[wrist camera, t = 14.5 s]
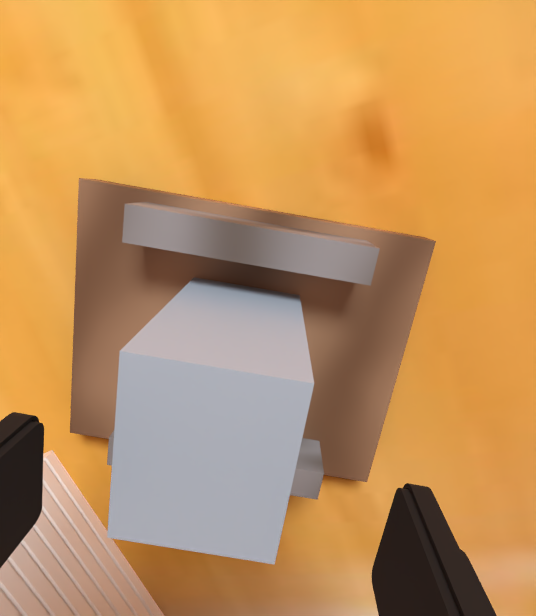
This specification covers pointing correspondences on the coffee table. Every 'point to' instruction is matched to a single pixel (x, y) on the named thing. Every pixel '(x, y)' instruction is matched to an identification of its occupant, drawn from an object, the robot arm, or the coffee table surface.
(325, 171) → the coffee table surface
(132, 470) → the slate block
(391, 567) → the robot arm
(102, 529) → the stack of papers
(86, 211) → the display stand
